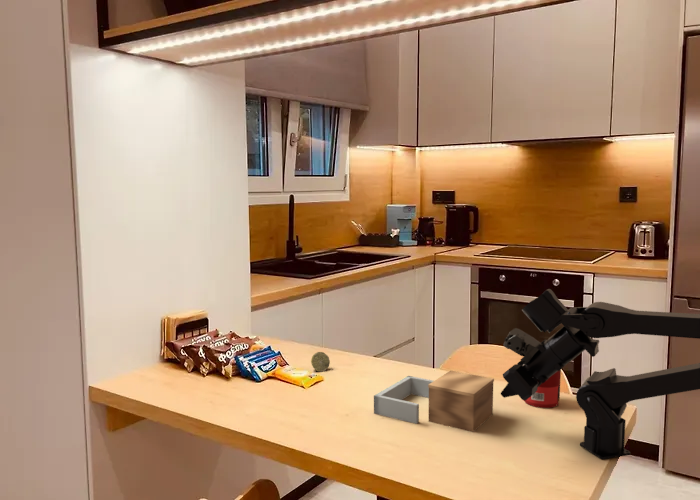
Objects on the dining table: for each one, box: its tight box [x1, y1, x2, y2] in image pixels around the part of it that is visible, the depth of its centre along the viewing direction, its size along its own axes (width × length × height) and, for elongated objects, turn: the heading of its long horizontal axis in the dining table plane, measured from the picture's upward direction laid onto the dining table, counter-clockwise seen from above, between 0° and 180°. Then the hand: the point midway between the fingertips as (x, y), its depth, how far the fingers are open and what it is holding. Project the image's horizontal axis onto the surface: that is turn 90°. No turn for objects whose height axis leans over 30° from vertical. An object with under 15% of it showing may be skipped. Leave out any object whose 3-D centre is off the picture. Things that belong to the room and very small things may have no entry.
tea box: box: [428, 370, 495, 433], centre depth 129 cm, size 10×11×8 cm
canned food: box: [524, 369, 562, 409], centre depth 138 cm, size 8×8×11 cm
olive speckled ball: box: [310, 351, 331, 372], centre depth 163 cm, size 4×5×5 cm
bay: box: [373, 375, 434, 424], centre depth 136 cm, size 10×16×4 cm, turn 146°
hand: (502, 395), depth 124 cm, fingers closed
